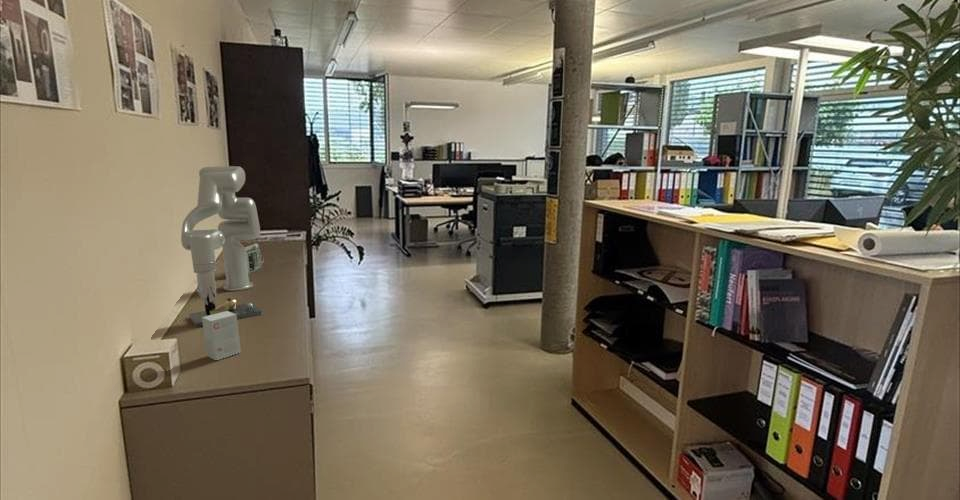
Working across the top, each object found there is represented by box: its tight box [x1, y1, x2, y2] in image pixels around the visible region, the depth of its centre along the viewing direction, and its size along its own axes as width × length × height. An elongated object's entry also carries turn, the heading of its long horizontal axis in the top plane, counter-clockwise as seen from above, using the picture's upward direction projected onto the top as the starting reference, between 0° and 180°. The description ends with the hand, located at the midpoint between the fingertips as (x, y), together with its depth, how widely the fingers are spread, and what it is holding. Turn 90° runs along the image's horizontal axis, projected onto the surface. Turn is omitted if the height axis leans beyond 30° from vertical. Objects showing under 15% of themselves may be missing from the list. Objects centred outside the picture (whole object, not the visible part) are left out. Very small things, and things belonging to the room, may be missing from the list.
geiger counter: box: [244, 243, 265, 274], centre depth 275 cm, size 14×6×25 cm
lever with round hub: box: [210, 297, 238, 315], centre depth 201 cm, size 4×15×4 cm, turn 177°
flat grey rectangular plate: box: [188, 301, 262, 328], centre depth 204 cm, size 14×23×4 cm, turn 126°
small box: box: [202, 311, 242, 361], centre depth 165 cm, size 8×6×13 cm
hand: (211, 314), depth 198 cm, fingers closed
